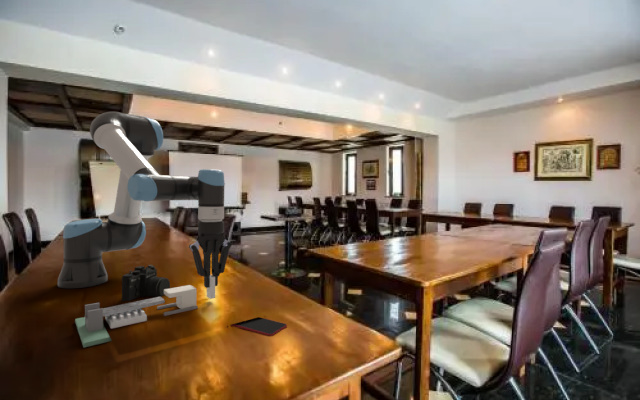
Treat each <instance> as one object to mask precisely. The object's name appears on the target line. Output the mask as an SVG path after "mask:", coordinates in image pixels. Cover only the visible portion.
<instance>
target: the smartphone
mask: <svg viewBox="0 0 640 400" xmlns="http://www.w3.org/2000/svg"><path fill="white" fill-rule="evenodd" d="M230 326H231V327H235V328H238V329H241V330H246V331H250V332H252V333H256V334H257V333H258V334H259V335H264V336H269V337H273V336H274V335H276V334H277V333H279V332H280V331H282V330H284V329H285V328H287V326H288V325H287V323H284V322H280V321H277V320H276V321H275V320H272V319H268V318H264V317H260V316H257V317H254V318H251V319H247V320H244V321H243V320H242V321H240V322H235V323H231V324H230Z"/></svg>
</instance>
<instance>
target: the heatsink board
mask: <svg viewBox="0 0 640 400" xmlns="http://www.w3.org/2000/svg"><path fill="white" fill-rule="evenodd" d="M100 304H101V303H100V302H95V303H89V304H84V317H77V318H75V320H74V323H75V325H76V326H75V327H76V329H77V333H78V335H79V338H80V341H81V345H82V347H83V348H87V347H88V348H89V347H92V346H96V345H100V344H105V343H108V342H112V340H113V339H112V338H111V336H110V334H109V332H108V331H107V329H106V327H105V325H104V317H105V321H106V323H107V324H108V326H109V328H110V329H116V328H120V327H124V326H128V325H133V324H138V323H142V322H143V323H144V322H147V321H148V317H147V316H148V315H147V314H146V313H145V311H144V309H143V308H140V309H135V310H131V311H126V312H122V313H117V314H113V315H108V316H104V317H103V307H101V308H100ZM172 307H177V306H176V302H172V303H167V304H163V305H162V304H161V305H157V306H156V310H162V309H167V308H172ZM196 309H198V305H196V306H192V307H187V308H183V309H180V308H179V309H174V310H169V311H165V312H163V316H164V317H167V316H170V315H174V314H179V313H183V312H188V311H193V310H196Z"/></svg>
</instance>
